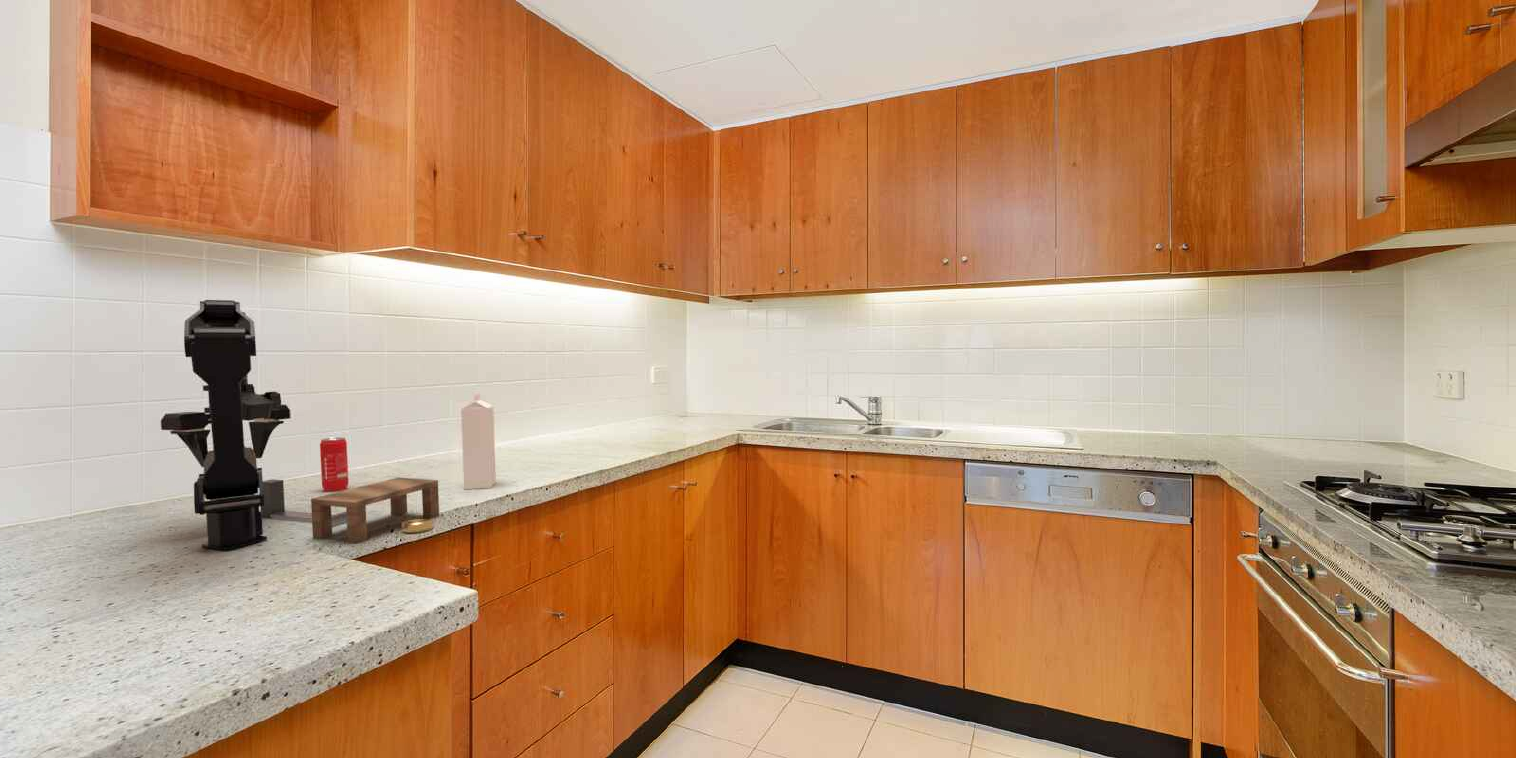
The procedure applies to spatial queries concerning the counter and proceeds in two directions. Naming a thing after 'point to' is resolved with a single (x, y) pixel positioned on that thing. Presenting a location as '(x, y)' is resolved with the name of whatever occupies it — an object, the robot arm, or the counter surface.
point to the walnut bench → (367, 495)
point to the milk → (478, 445)
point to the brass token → (417, 525)
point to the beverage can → (334, 464)
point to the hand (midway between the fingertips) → (232, 462)
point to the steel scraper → (276, 505)
